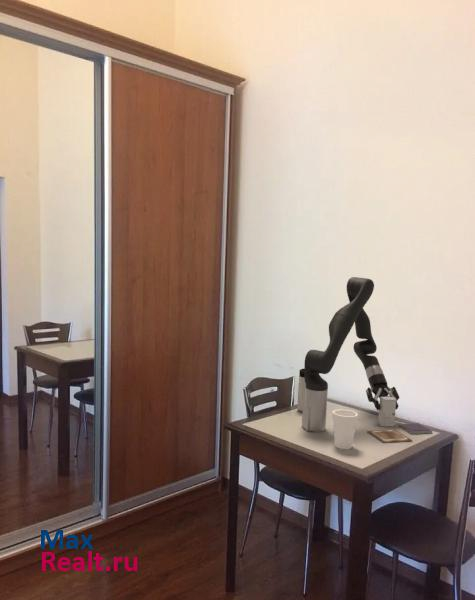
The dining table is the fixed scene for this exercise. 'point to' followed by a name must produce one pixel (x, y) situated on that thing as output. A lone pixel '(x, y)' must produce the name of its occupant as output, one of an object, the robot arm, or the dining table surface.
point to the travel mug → (301, 390)
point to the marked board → (389, 436)
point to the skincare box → (387, 411)
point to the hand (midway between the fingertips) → (387, 409)
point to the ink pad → (415, 428)
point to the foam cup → (344, 427)
